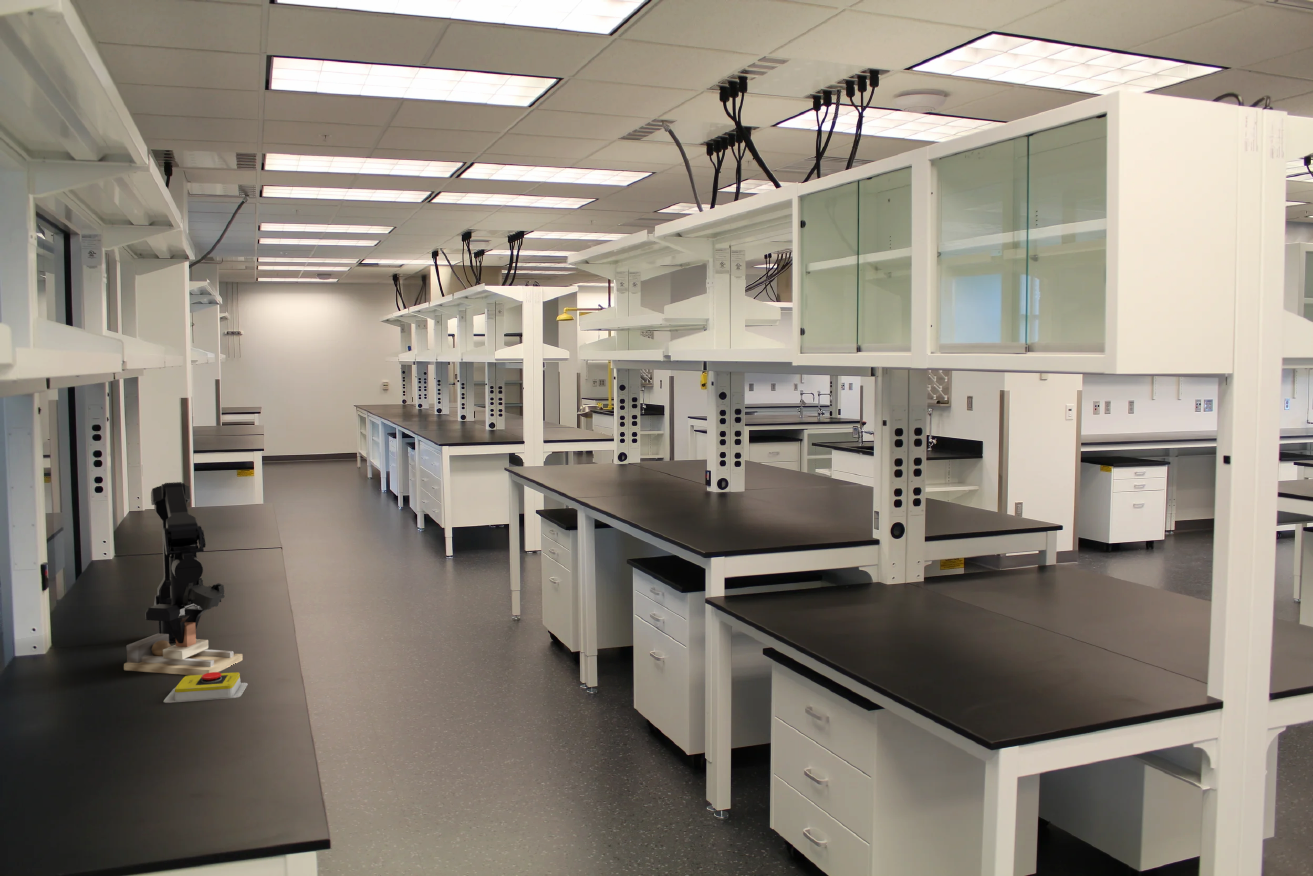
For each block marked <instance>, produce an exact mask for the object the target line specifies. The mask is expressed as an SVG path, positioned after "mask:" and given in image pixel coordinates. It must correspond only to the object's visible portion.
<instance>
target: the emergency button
mask: <svg viewBox="0 0 1313 876" xmlns="http://www.w3.org/2000/svg"><path fill="white" fill-rule="evenodd" d="M247 687H248V683H247V682H241V674H240V672H222V673H221V672H220V671H219V672H211V673H206V674H204V675H185V676H184V677H183V678H181V680H180V681H179V683H178V684H177V685H176V686H175V687H174V688H173V689H171V691H170V693H169V694H168V695H167V696H166V697H165V698H164V700H163V703H165V704H169V703H170V704H171V703H182V702H197V701H210V700H223V699H225V700H226V699H236V698H240V697H242V695H243V693H244V691H245V689H247Z"/></svg>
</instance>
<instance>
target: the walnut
mask: <svg viewBox="0 0 1313 876" xmlns="http://www.w3.org/2000/svg"><path fill="white" fill-rule="evenodd" d="M170 643H171V642H167V641H165V640H160V641H157V642H156V643H155V644H154V645H153V646H152V653H153V655H154V656H160V657H163V649H166V648H168V647H171V646H172V645H171V644H170Z"/></svg>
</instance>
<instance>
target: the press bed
mask: <svg viewBox="0 0 1313 876" xmlns="http://www.w3.org/2000/svg"><path fill="white" fill-rule="evenodd" d="M160 640H165V641H167V642H169V634H159V632H158V633H156V634H153V635H151V636H148V637H145V638H142V639H140V640H137V641H135V642H132V643H129V644H127V645H126V662H125V663H123V670H124V671H130V672H144V673H156V674H157V673H159V674H170V675H185V676H190V675H204V674H206V673H211V672H219V673H220V672H222V671H224V670H226V669H227V668H229V667H231V665H232V666H234V665H235V663H236V664H238V663H240V662H242V661H244V660H243V653H234V651H233V650H219V649H209V648H208V649H205V650H203V651H201V652H199V653H196V654H194V655H192V656H190V657H187V658H185V659H183V660H180V659H166V658H163V657H160V656H154V655H153V653H152V646H153V645H154V644H155V643H156V642H157V641H160ZM169 643H170V642H169ZM233 664H234V665H233Z"/></svg>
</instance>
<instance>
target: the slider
mask: <svg viewBox="0 0 1313 876" xmlns="http://www.w3.org/2000/svg"><path fill="white" fill-rule="evenodd" d="M196 630H197V628H196V626H195V622H185V627H184V641H183V643H178V642H177V640H176V643H175V644H174V645H171V647H168V648H166V649H163V658H166V659H180V660H183V659H185V658H187V657H190V656H192V655H194V654H196V653H199V652H201V651H203V650H205V649H208V650H209V639H197V631H196Z"/></svg>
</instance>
